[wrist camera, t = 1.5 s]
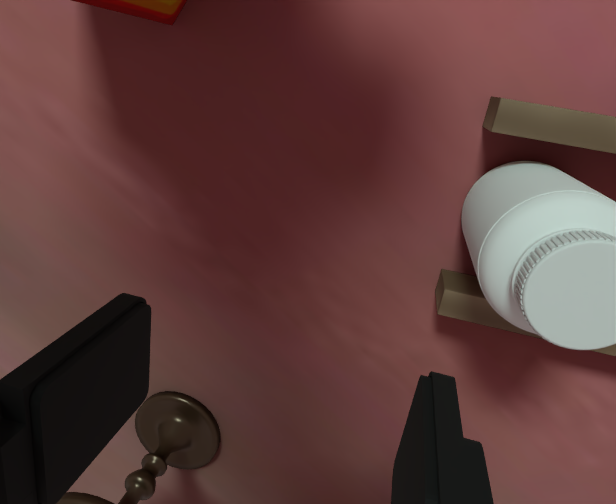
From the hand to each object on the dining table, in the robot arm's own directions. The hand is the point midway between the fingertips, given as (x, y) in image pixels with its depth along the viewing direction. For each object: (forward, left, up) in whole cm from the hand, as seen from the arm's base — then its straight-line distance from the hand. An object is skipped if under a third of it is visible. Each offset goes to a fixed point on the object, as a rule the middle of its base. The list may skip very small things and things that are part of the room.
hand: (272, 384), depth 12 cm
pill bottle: (0, +11, -26) cm, 28 cm away
